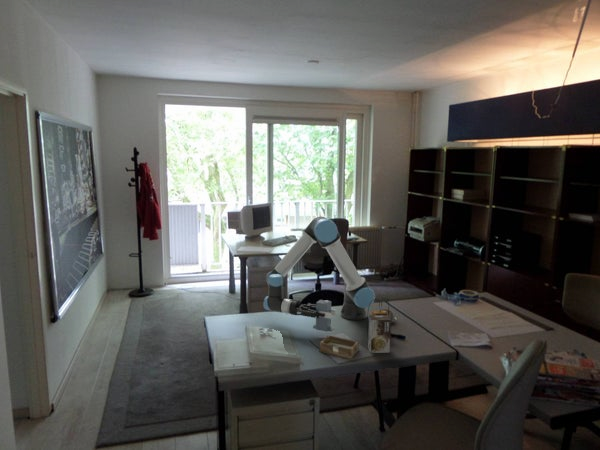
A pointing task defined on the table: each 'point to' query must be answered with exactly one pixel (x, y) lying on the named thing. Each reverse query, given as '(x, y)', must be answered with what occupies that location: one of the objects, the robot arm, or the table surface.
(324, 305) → the blue-grey rectangular block
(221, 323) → the table surface
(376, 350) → the coffee box
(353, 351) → the pocket tray
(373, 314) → the multimeter
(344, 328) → the table surface
